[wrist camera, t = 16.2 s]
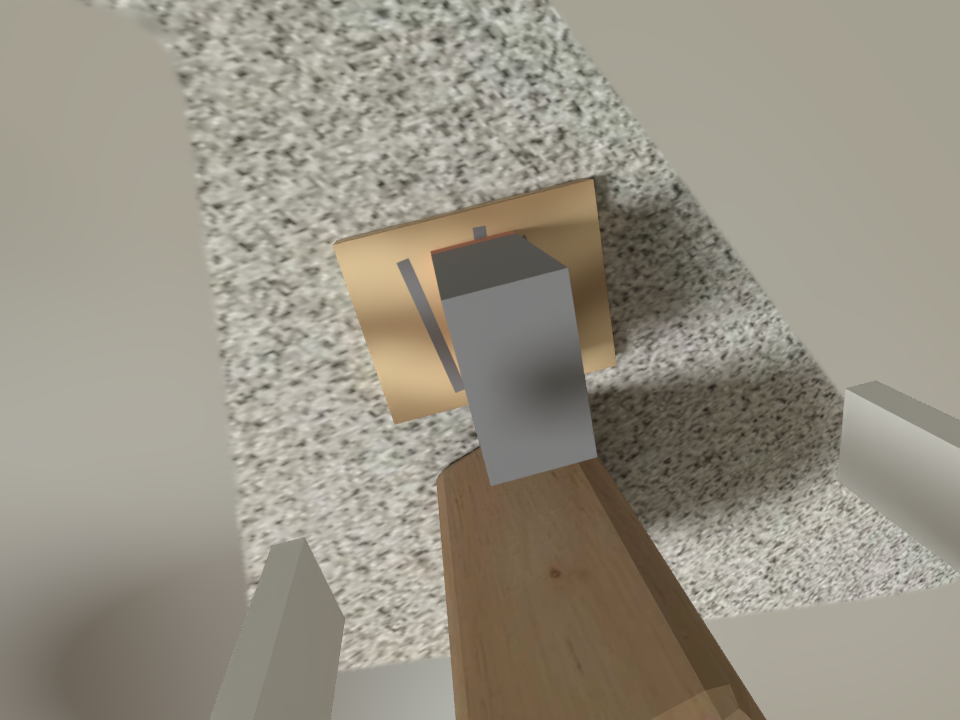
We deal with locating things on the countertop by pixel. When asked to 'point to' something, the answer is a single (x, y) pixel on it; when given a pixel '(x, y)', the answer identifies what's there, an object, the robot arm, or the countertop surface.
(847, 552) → the countertop surface
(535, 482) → the wooden block
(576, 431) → the block
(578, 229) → the board
